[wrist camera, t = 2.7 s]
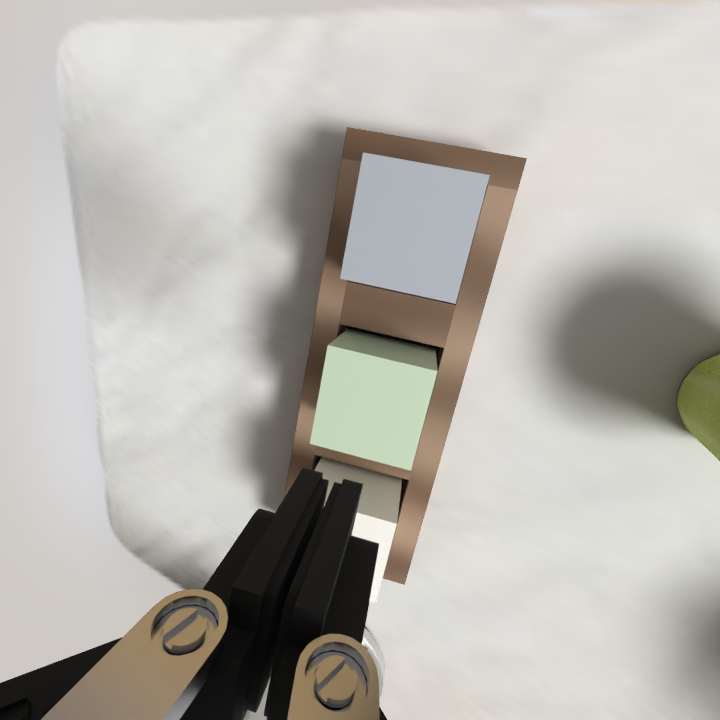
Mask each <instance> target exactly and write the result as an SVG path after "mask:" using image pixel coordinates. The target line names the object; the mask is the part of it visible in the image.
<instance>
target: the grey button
mask: <svg viewBox="0 0 720 720" xmlns="http://www.w3.org/2000/svg"><path fill="white" fill-rule="evenodd" d="M489 176H490V175H486V174H481V173H475V172H470V171H464V170H459V169H453V168H447V167H442V166H436V165H431V164H425V163H420V162H414V161H409V160H403V159H397V158H392V157H386V156H381V155H375V154H370V153H364V152H363V156H362V161H361V166H360V172H359V177H358V183H357V188H356V194H355V199H354V205H353V210H352V216H351V221H350V227H349V232H348V237H347V243H346V248H345V254H344V259H343V265H342V270H341V276H340V279H344V280H349V281H353V282H358V283H362V284H367V285H372V286H376V287H381V288H385V289H390V290H395V291H399V292H404V293H408V294H413V295H417V296H422V297H427V298H431V299H436V300H440V301H445V302H450V303H454V304H456V300H457V297H458V293H459V289H460V285H461V282H462V278H463V274H464V270H465V267H466V263H467V259H468V255H469V252H470V248H471V244H472V240H473V237H474V233H475V229H476V225H477V222H478V218H479V214H480V210H481V207H482V203H483V199H484V195H485V191H486V188H487V184H488V180H489Z"/></svg>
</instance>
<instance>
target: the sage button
mask: <svg viewBox="0 0 720 720" xmlns="http://www.w3.org/2000/svg"><path fill="white" fill-rule="evenodd" d="M437 372H438V370H437V359H436V349H432V348H427V347H423V346H419V345H415V344H410V343H406V342H402V341H397V340H393V339H389V338H384V337H380V336H376V335H371V334H367V333H363V332H359V331H354V330H350V329H347V330H346V331H344V332H343V333H342V334H341V335H340V336H338V337H337V338H336V339H335V340H333V341H332V342H331V343H330V344H329V345H328V347H327V352H326V358H325V363H324V369H323V374H322V380H321V385H320V390H319V396H318V401H317V407H316V412H315V418H314V423H313V429H312V434H311V440H310V444H313V445H317V446H320V447H324V448H328V449H331V450H335V451H339V452H343V453H346V454H350V455H354V456H358V457H361V458H365V459H369V460H372V461H376V462H380V463H384V464H387V465H391V466H395V467H399V468H402V469H406V470H410V471H411V469H412V466H413V462H414V458H415V454H416V451H417V447H418V443H419V439H420V436H421V432H422V428H423V424H424V421H425V417H426V413H427V409H428V406H429V402H430V398H431V394H432V391H433V387H434V383H435V379H436V375H437Z"/></svg>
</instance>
